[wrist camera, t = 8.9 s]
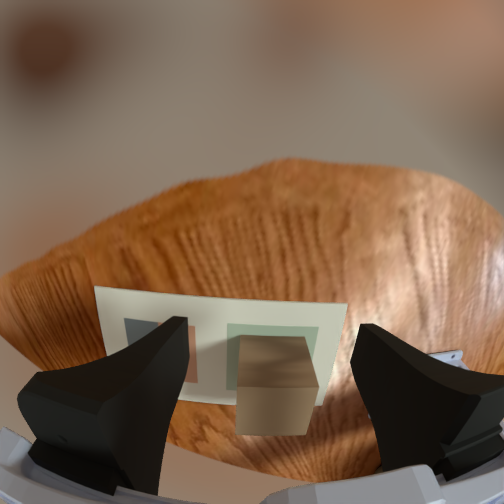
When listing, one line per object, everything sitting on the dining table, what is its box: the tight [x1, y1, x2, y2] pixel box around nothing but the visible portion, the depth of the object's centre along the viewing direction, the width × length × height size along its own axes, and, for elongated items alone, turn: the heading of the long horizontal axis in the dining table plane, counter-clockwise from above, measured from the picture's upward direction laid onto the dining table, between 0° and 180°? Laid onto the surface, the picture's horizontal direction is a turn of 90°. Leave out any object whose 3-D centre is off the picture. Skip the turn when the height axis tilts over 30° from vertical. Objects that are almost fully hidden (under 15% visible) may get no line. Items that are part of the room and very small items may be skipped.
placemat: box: [94, 286, 348, 406], centre depth 22 cm, size 20×11×1 cm, turn 87°
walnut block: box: [235, 335, 319, 436], centre depth 20 cm, size 5×5×6 cm
